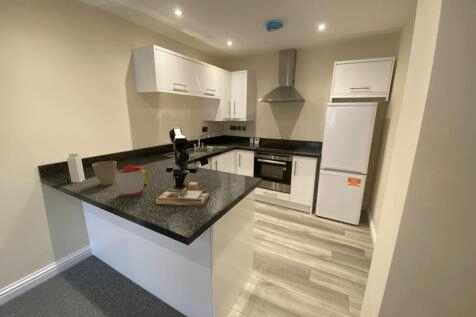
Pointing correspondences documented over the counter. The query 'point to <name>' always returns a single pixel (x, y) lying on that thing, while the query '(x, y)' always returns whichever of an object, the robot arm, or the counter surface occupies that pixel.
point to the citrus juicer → (130, 180)
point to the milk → (75, 168)
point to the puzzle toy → (145, 177)
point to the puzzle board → (181, 201)
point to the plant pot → (105, 171)
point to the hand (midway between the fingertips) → (183, 182)
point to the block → (193, 186)
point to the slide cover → (190, 194)
